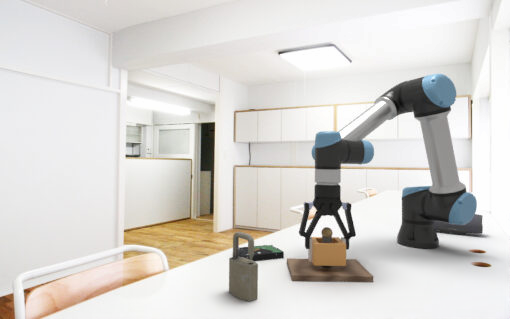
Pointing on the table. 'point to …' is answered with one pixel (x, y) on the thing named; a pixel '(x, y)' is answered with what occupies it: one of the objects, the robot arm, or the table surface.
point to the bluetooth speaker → (461, 226)
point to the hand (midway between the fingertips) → (326, 260)
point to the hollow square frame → (328, 252)
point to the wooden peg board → (327, 268)
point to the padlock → (243, 270)
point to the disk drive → (262, 253)
